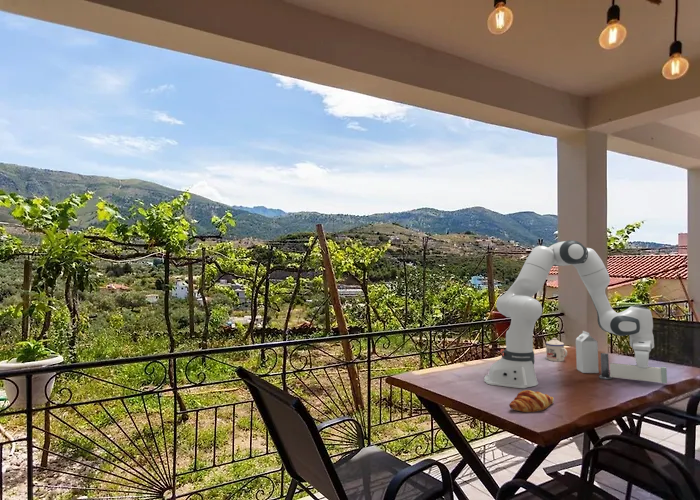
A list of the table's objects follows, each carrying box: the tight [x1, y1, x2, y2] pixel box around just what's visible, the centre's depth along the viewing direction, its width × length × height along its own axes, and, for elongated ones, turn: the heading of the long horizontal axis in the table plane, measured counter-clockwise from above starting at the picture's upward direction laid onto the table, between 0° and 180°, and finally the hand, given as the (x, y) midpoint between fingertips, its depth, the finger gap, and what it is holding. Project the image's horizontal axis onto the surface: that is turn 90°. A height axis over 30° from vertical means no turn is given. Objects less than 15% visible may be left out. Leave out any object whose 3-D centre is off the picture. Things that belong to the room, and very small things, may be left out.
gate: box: [609, 362, 668, 384], centre depth 184 cm, size 20×2×6 cm, turn 57°
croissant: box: [508, 389, 555, 413], centre depth 156 cm, size 21×10×8 cm, turn 115°
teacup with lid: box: [545, 337, 568, 362], centre depth 226 cm, size 12×9×12 cm
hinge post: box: [598, 352, 613, 381], centre depth 191 cm, size 5×5×11 cm
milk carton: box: [575, 330, 600, 374], centre depth 203 cm, size 7×7×19 cm
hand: (643, 374), depth 186 cm, fingers closed
